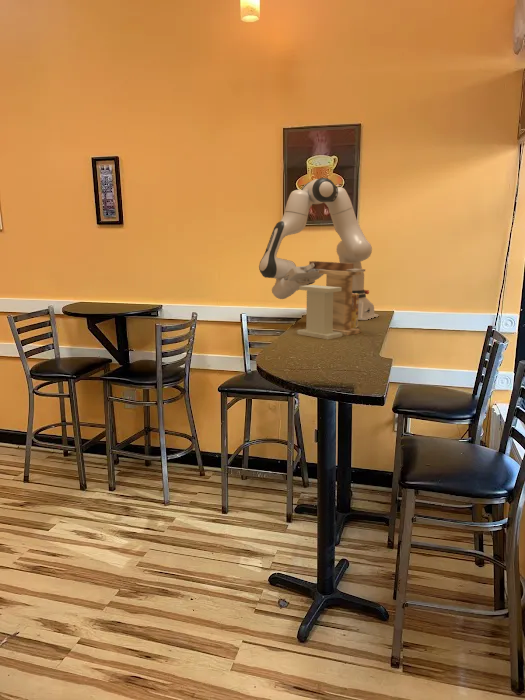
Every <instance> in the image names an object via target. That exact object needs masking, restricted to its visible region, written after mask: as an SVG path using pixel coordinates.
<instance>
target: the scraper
mask: <svg viewBox="0 0 525 700" xmlns="http://www.w3.org/2000/svg"><path fill="white" fill-rule="evenodd" d="M308 263H309V264H308V265H310V264H311V263H315V264H316V267H314V268H312V269H325V270H339V271H347V272H364V273H365V272H366V269H363V268H362V269H353V265H354V264H353V263H340V262H335V261H334V262H332V261H316V260H314V261H313V260H311V261H309V262H308Z"/></svg>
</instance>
